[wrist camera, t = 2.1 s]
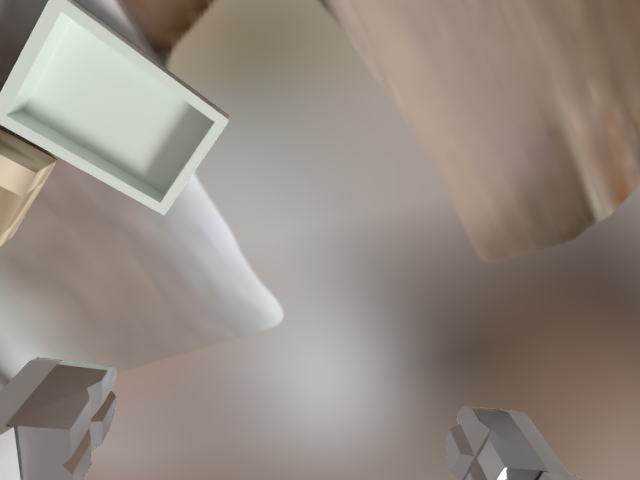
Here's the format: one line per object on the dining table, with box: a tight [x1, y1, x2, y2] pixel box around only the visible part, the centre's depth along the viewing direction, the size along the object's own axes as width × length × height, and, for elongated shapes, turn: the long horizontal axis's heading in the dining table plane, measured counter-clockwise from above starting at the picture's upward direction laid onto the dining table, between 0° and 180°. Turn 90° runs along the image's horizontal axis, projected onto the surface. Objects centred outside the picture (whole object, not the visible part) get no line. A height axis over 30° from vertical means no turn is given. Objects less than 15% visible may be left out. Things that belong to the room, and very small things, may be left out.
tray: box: [0, 0, 229, 215], centre depth 35 cm, size 16×12×4 cm
